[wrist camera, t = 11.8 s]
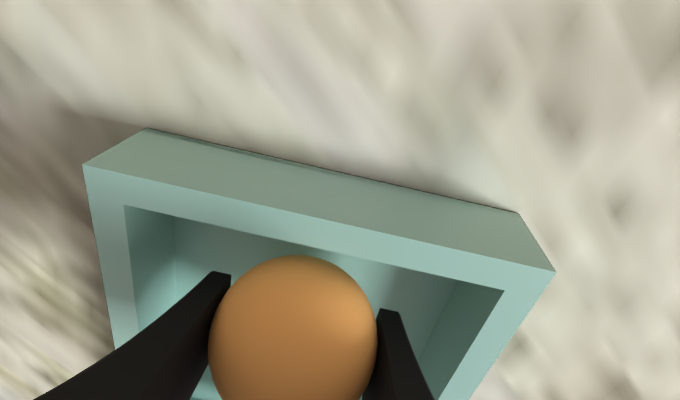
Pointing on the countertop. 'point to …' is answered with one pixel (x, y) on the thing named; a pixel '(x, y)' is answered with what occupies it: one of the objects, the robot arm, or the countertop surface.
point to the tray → (311, 246)
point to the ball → (293, 334)
